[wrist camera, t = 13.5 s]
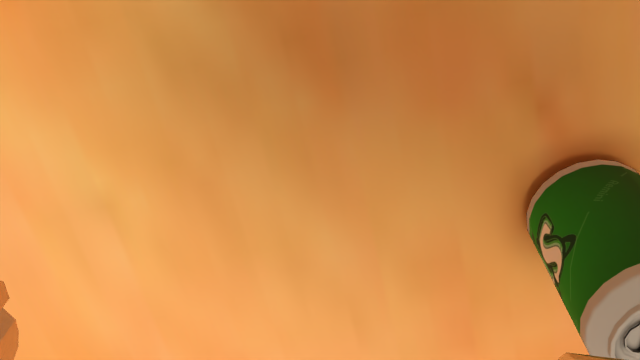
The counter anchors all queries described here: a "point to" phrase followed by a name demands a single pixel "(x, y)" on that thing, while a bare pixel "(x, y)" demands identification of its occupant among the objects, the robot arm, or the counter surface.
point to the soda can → (593, 251)
